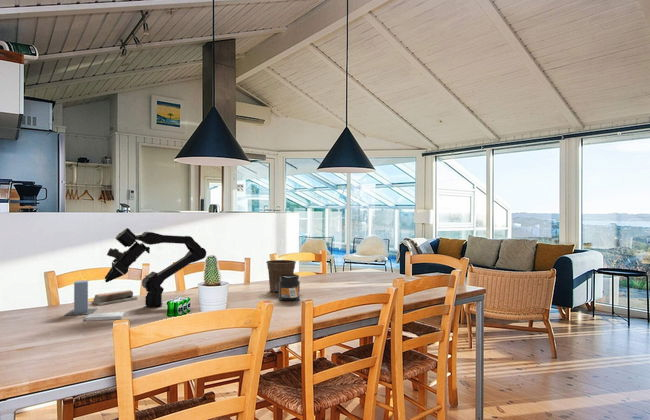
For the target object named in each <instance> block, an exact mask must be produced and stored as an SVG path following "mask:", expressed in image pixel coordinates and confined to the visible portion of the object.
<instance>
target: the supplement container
mask: <svg viewBox="0 0 650 420" xmlns="http://www.w3.org/2000/svg"><path fill="white" fill-rule="evenodd" d="M299 279H300V275H299V274H296V273H294V274H283V275H280V281H279V292H278V299H279V300H280V301H283V302H295V301H298V300H300V296H301V295H300V293H301V292H300V291H301V289H300V288H301V287H300V286H301V285H300V284H301V282H300V280H299Z"/></svg>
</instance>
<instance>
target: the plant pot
mask: <svg viewBox="0 0 650 420" xmlns="http://www.w3.org/2000/svg"><path fill="white" fill-rule="evenodd" d="M296 263H297V261H296V260H292V259H291V260H289V259H273V260H266V266H267V267H266V268H267V270H268V281H269V282H268V283H269V291H270V292H273V293H279V281H280V275H283V274H295V273H294V272H295V267H296Z"/></svg>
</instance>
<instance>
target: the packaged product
mask: <svg viewBox="0 0 650 420" xmlns="http://www.w3.org/2000/svg"><path fill="white" fill-rule="evenodd" d="M138 297H139V296H134V292H133V291H132V290H129V289H128V290H121V291H120V290H119V291H113V292H106V293H98V294H95V295H94V298H93V300H91V303H92V304H95V305H98V306H106V305H111V304H113V305H114V304H118V303H124V302H125V303H126V302H130V301H129V300H131V301H135V299H137V300H138Z"/></svg>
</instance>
